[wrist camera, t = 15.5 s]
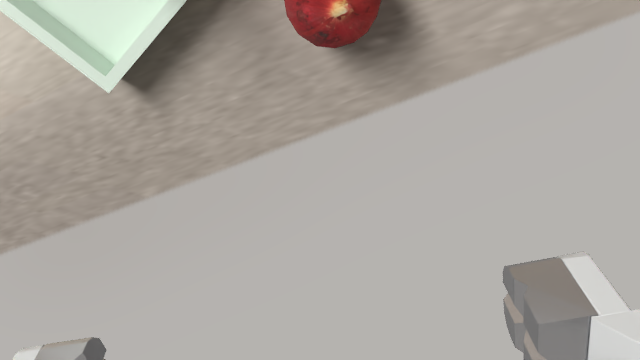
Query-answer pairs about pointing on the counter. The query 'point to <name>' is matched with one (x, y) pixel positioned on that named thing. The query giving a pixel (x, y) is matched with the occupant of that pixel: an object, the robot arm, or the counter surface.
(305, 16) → the onion
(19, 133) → the counter surface
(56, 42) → the tray
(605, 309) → the robot arm
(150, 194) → the counter surface
